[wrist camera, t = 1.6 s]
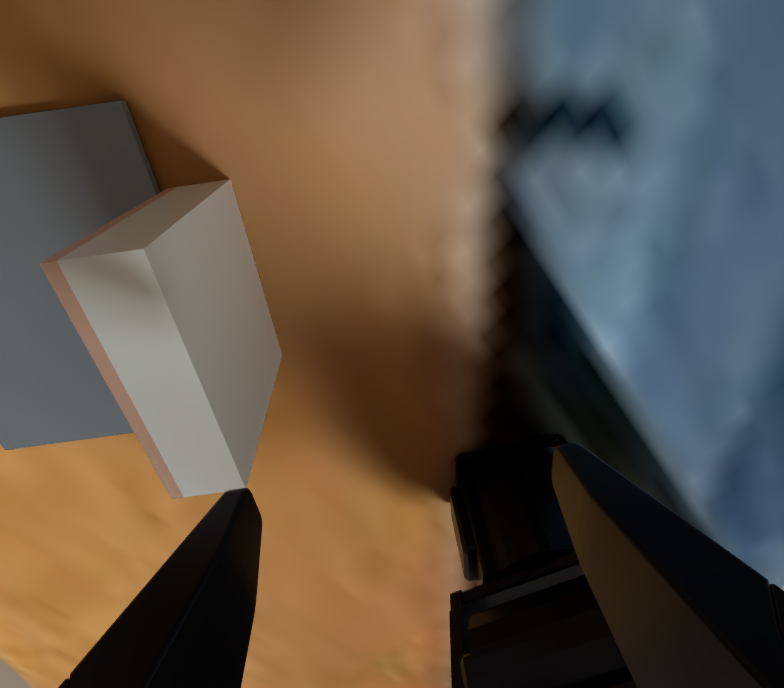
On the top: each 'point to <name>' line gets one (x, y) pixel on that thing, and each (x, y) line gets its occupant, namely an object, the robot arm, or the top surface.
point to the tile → (178, 331)
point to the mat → (42, 240)
